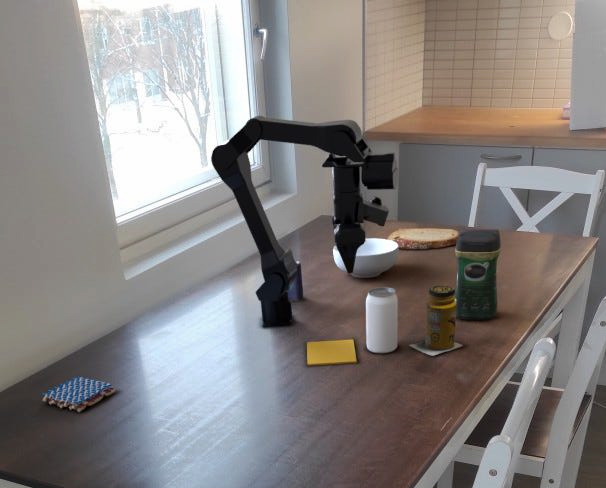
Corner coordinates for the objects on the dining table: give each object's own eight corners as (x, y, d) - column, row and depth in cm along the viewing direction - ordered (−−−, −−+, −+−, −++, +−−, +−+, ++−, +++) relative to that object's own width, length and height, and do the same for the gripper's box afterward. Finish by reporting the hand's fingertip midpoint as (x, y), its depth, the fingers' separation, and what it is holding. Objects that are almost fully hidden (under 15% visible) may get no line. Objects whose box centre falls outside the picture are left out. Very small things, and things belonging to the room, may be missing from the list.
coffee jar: (497, 309, 184) (504, 225, 173) (494, 322, 178) (501, 235, 167) (455, 308, 186) (458, 225, 176) (450, 320, 180) (454, 234, 169)
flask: (266, 299, 200) (262, 255, 194) (270, 295, 202) (267, 252, 196) (301, 301, 197) (298, 256, 191) (305, 297, 200) (303, 253, 193)
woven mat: (80, 414, 152) (77, 404, 151) (41, 403, 157) (38, 394, 156) (117, 392, 159) (115, 382, 158) (79, 383, 164) (77, 374, 163)
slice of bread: (466, 239, 232) (467, 226, 230) (429, 255, 222) (429, 241, 219) (416, 231, 242) (416, 218, 240) (378, 246, 232) (378, 233, 230)
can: (364, 343, 172) (363, 287, 165) (394, 341, 172) (394, 285, 165) (369, 355, 167) (368, 298, 160) (400, 352, 167) (400, 295, 160)
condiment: (463, 346, 168) (466, 288, 161) (432, 356, 164) (433, 298, 157) (439, 336, 173) (441, 280, 166) (409, 346, 169) (409, 290, 162)
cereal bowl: (409, 267, 214) (409, 240, 210) (379, 286, 203) (379, 258, 198) (353, 261, 222) (353, 234, 218) (322, 279, 211) (320, 251, 207)
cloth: (307, 365, 164) (307, 364, 164) (307, 343, 174) (307, 342, 174) (356, 362, 164) (356, 361, 164) (353, 341, 174) (353, 339, 174)
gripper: (390, 197, 158) (390, 277, 167) (382, 177, 173) (382, 252, 182) (333, 201, 158) (336, 280, 167) (330, 181, 173) (333, 255, 182)
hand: (349, 266), depth 175 cm, fingers open, 9 cm apart
